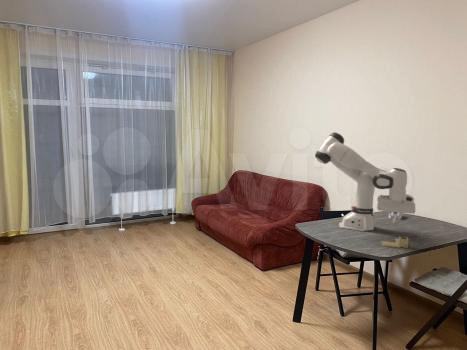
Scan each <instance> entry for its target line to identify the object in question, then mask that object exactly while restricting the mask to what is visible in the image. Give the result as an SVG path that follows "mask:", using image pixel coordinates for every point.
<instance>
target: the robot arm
mask: <svg viewBox="0 0 467 350" xmlns="http://www.w3.org/2000/svg"><path fill="white" fill-rule="evenodd" d="M344 143H345V138H344V136H342V134H340V133H338V132H334V131H333V132H331V134H329V136H328V137H327V138H326V139H325V140H324V141H323V142H322V144H321V145H320V146H319V148H318V150H317V151H316V152H315V154H314V157H315V159H316V161H318V162H319V163H320V164H322V165H325V164H328V163H332V165H334V166H335V167H336V168H337V169H338V170H340V171H341V173H343V174H345V175H347V176H348V177H349V178H350V179H352V180H353V181H355V182H356V183H357V188H356V193H355V201H354V203H355V205H352V206H351V208H350V209H351V211H350V212H348V213H347V214H345V215H344V216H343V218H342V221H340V222H339V223H338V226H339V228H342V229H347V230H353V231H359V232H366V231H373V230H374V229H375V228H374V223H373V216H374V195H375V189H378V190H388V195H387V194H386V195H382V194H380V195H378V196H377V206H376V210H378V211H380V212H388V215H389V214H390V218H389V219H390V220H393V216H392V215H391V213H392V212H399V216H397V221H400V220H401V219H400V217H401V215H402V216H403V214H402V213H404V214H413V215H414V214H415V213H416V203H415V197H413V196H412V195H410V194H407V186H408V173H407V172H406V170H405V169H402V168H398V167H393V168H391V169H389V170H383V169H380V168H378V167H377V166H375V165H374V164H372V163H370V162H369V161H367V160H366V159H365V158H363V157H362V156H361V155H360V154H359V153H358V152H356V151H355V150H354V149H352V148H351V147H349V146H348V145H345V144H344Z"/></svg>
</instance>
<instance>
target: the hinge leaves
mask: <svg viewBox="0 0 467 350" xmlns="http://www.w3.org/2000/svg"><path fill="white" fill-rule="evenodd" d="M394 240H395V242H393V241H392V242H391V241H384V240H381V246H382V247H388V246H389V247H391V248H397V247H398V249H400V248H401V247H403V248H404V249H408V248H409V238H408V237H406V236H398V238H395V239H394ZM403 248H402V249H403Z"/></svg>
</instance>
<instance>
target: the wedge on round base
mask: <svg viewBox="0 0 467 350" xmlns="http://www.w3.org/2000/svg"><path fill="white" fill-rule="evenodd" d="M393 213H394V212H392V213H391V215H392V216H393ZM403 214H405V213H402V215H401V217H400V220H402V218H403V217H402V216H403ZM397 216H399V212H397ZM388 219H390V214H389V213H388Z"/></svg>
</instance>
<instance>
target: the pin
mask: <svg viewBox="0 0 467 350" xmlns="http://www.w3.org/2000/svg"><path fill="white" fill-rule="evenodd" d="M397 221H398V220H397V212H394V213H393V219H392V223H391V224H392V226H394V227H395V226H397Z"/></svg>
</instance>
